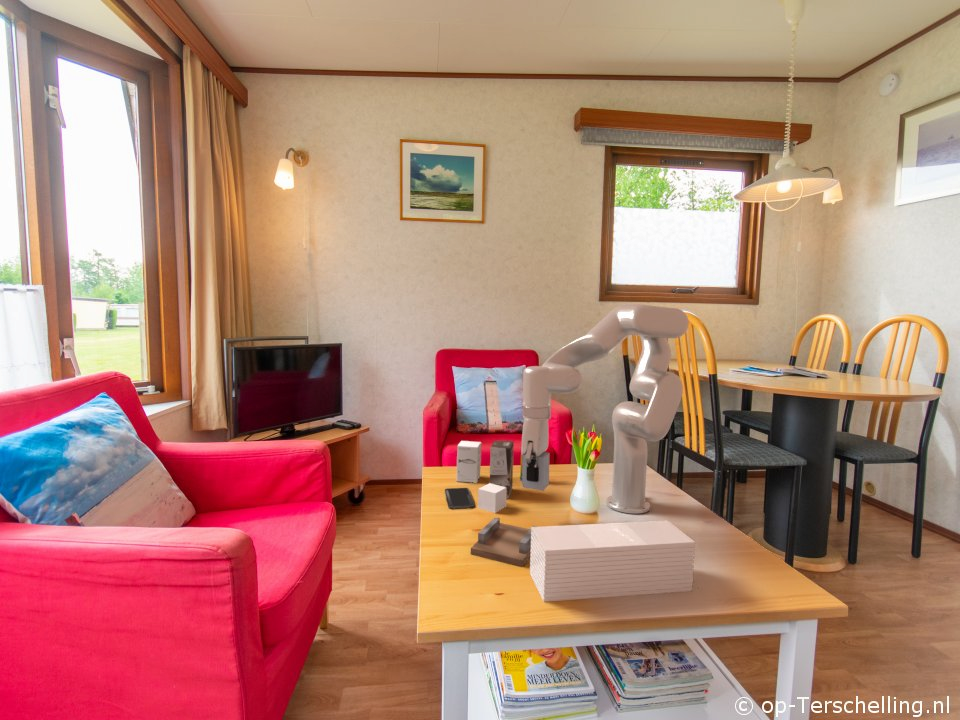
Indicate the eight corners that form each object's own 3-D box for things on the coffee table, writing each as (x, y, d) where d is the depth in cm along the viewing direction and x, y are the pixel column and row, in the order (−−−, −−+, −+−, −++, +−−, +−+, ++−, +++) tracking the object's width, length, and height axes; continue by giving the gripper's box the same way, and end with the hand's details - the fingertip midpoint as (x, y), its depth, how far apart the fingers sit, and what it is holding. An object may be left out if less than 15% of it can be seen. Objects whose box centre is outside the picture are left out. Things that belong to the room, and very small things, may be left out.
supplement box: (455, 482, 162) (456, 445, 161) (460, 475, 169) (460, 440, 168) (477, 483, 161) (478, 446, 160) (480, 476, 168) (481, 441, 167)
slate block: (528, 481, 134) (528, 450, 133) (548, 484, 132) (549, 452, 131) (522, 487, 130) (522, 454, 129) (543, 490, 127) (544, 457, 126)
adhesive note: (506, 507, 142) (506, 487, 141) (495, 513, 137) (495, 493, 136) (489, 502, 145) (489, 483, 145) (477, 508, 140) (478, 488, 140)
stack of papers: (664, 565, 110) (667, 520, 109) (692, 591, 99) (695, 541, 99) (529, 574, 105) (531, 526, 104) (543, 602, 95) (545, 550, 94)
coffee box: (509, 499, 148) (510, 448, 146) (488, 497, 149) (489, 446, 147) (513, 489, 156) (514, 440, 155) (493, 487, 158) (494, 439, 156)
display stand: (496, 527, 127) (497, 513, 127) (543, 537, 122) (544, 522, 122) (470, 553, 113) (470, 537, 113) (522, 566, 108) (523, 549, 107)
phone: (448, 506, 139) (444, 488, 154) (448, 510, 139) (444, 491, 154) (475, 505, 140) (468, 487, 155) (475, 509, 140) (468, 491, 155)
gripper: (533, 405, 138) (532, 467, 140) (512, 417, 123) (511, 485, 124) (558, 407, 135) (557, 470, 137) (540, 419, 120) (539, 490, 121)
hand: (535, 477), depth 131 cm, fingers closed on slate block, 4 cm apart
